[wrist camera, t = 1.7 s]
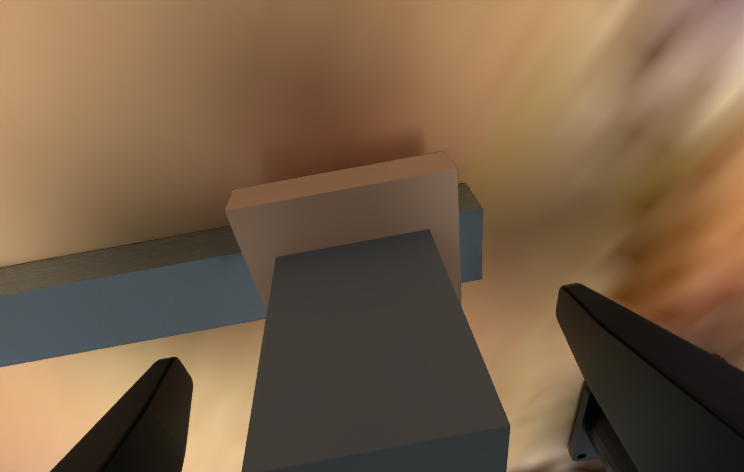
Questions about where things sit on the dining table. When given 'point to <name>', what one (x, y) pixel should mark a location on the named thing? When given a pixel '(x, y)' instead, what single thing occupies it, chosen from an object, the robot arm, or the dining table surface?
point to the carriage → (365, 325)
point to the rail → (151, 291)
